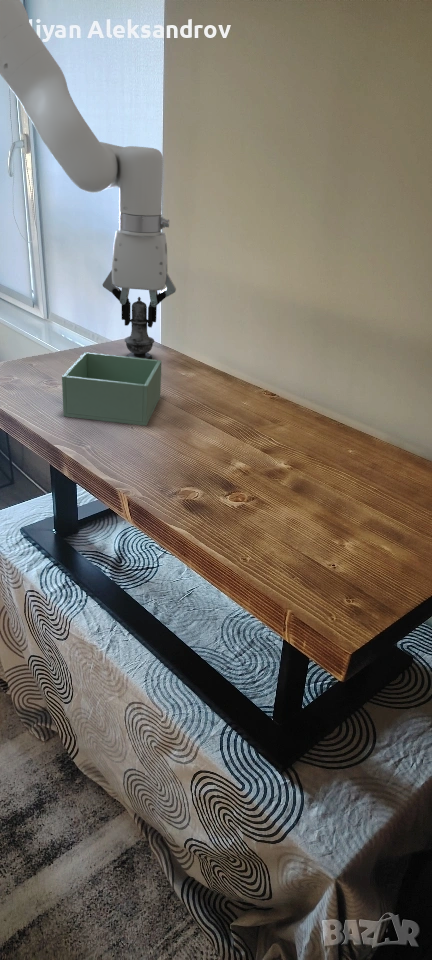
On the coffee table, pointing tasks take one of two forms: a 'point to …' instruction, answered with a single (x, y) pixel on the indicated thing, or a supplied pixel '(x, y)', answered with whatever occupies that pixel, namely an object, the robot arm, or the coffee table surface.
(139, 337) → the salt shaker
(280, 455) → the coffee table surface
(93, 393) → the box
